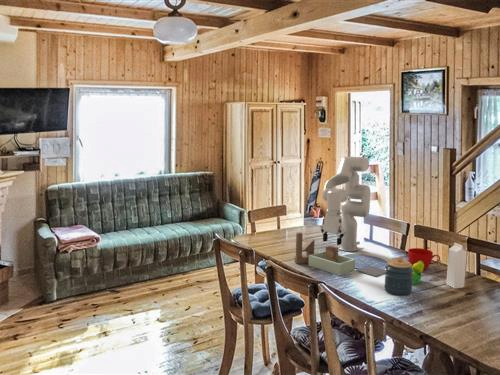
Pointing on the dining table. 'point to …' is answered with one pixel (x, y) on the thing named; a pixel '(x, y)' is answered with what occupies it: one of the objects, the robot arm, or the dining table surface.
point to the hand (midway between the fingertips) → (332, 242)
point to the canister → (398, 277)
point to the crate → (332, 263)
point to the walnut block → (332, 253)
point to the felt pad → (371, 271)
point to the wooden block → (303, 249)
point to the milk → (456, 266)
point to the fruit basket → (417, 272)
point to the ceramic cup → (421, 256)
